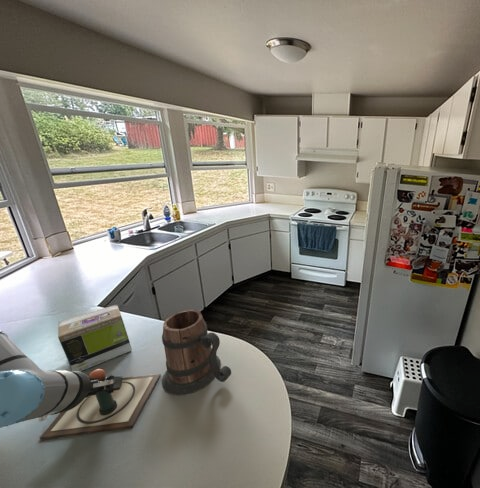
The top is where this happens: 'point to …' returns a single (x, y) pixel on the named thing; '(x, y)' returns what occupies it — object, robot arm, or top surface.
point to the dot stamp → (103, 395)
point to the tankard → (190, 354)
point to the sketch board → (90, 420)
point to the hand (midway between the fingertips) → (110, 386)
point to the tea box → (93, 338)
